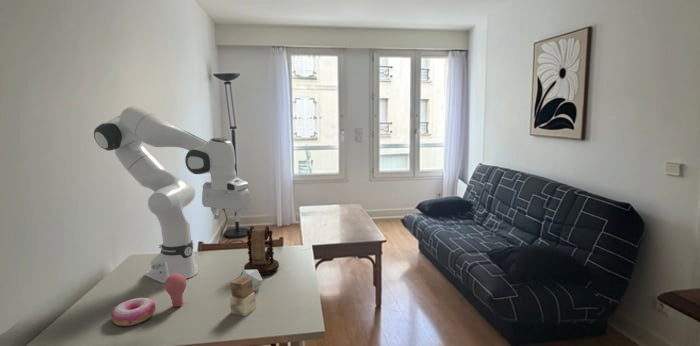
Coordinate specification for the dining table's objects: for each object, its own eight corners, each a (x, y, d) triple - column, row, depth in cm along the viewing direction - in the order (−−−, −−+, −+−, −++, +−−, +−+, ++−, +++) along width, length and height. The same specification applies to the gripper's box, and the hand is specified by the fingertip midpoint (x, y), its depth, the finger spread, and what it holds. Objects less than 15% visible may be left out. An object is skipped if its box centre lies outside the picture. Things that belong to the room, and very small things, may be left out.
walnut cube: (232, 295, 139) (230, 282, 138) (241, 289, 143) (240, 276, 142) (243, 298, 137) (242, 284, 136) (253, 292, 141) (252, 278, 140)
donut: (146, 304, 147) (144, 291, 146) (163, 315, 139) (162, 302, 138) (105, 320, 137) (103, 306, 136) (122, 333, 128) (120, 318, 128)
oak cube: (231, 312, 139) (229, 296, 138) (242, 305, 145) (241, 289, 144) (244, 316, 137) (243, 299, 136) (256, 308, 142) (254, 292, 141)
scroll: (239, 277, 169) (235, 231, 166) (251, 263, 183) (248, 220, 180) (273, 278, 167) (270, 231, 164) (283, 264, 182) (280, 221, 178)
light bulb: (175, 313, 140) (171, 280, 138) (162, 308, 144) (159, 276, 142) (192, 304, 146) (189, 273, 144) (180, 299, 150) (177, 269, 148)
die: (250, 298, 151) (264, 275, 152) (231, 286, 152) (245, 264, 153) (255, 296, 159) (268, 274, 160) (237, 285, 160) (250, 263, 161)
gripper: (196, 183, 148) (199, 219, 150) (240, 186, 139) (243, 225, 141) (209, 180, 153) (211, 215, 156) (252, 183, 145) (254, 220, 147)
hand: (227, 220), depth 148 cm, fingers open, 8 cm apart
